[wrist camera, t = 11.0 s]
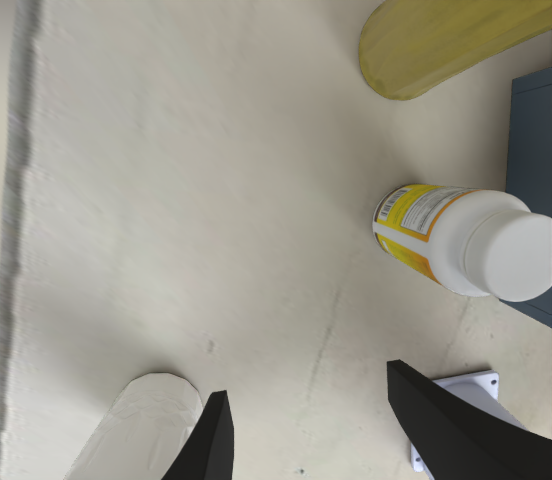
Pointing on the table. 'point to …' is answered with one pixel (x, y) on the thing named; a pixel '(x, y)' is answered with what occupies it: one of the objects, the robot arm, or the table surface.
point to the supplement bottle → (468, 239)
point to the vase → (441, 39)
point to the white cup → (140, 431)
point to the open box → (532, 164)
